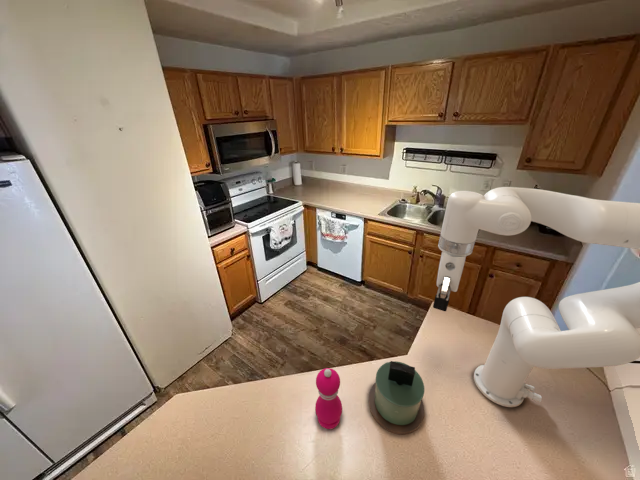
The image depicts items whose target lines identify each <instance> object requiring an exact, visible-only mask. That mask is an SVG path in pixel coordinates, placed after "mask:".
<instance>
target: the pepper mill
mask: <svg viewBox="0 0 640 480" xmlns="http://www.w3.org/2000/svg"><path fill="white" fill-rule="evenodd" d="M315 386H316V389H317V391H318V394H319V395H318V396H317V399H316V401H315V406H314V409H315V414H316V415H315V416H316V417H317V421H318V424H319V425H320V426H321V427H322V428H324V429H326V430H333V429H334V428H336V427H337V426H338V425H339V424H340V421H341V416H342V413H343V403H342V401H341V398H340V397H339V395H338V394H339V390H340V386H341V377H340V375H339V373H338V372H337V371H336V370H335V369H333V368H330V367H325V368H323V369H321V370H320V371H319V372H318V373H317V375H316V378H315Z"/></svg>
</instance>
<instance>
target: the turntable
mask: <svg viewBox="0 0 640 480" xmlns="http://www.w3.org/2000/svg"><path fill="white" fill-rule="evenodd" d="M375 386H376V381H375V382H374V383H373V384H372V385H371V387H370V390H369V392H368V393H369V394H368V407H369V410H370V413H371V415H372V417H373V418H374V420H375V421H376V423H377V424H378V425H379V426H380V427H382V428H383V429H384V430H386V431H388V432H390V433H392V434H395V435H409V434H412V433H414V432H415V431H417V430H418V429H419V428H420V426H421V425H422V423H423V421H424V417H425V416H424V415H425V406H424V401H423V399H422V400H421V403H420V407H419V411H418V414H417V417H416V418H415V420H414V421H412V422H411V423H409V424H406V425H396V424H393V423H391V422H389V421H387V420H386V419H385V418H383V417H382V415H381V414H380V413H379V412H378V410H377V408H376V405H375V401H374V395H375Z"/></svg>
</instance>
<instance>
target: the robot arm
mask: <svg viewBox="0 0 640 480" xmlns="http://www.w3.org/2000/svg"><path fill="white" fill-rule="evenodd" d="M531 222H533V223H537V224H540V225H543V226H546V227H548V228H551V229H552V230H554V231H556V232H558V233H560V234H562V235H564V236H566V237H567V238H570V239H573V240H575V241H578V242H581V243H584V244H592V245H601V246H609V247H619V248H626V249H631V250H632V249H633V250H640V202H628V201H617V200H605V199H595V198H590V197H585V196H581V195H573V194H568V193H563V192H557V191H552V190H546V189H539V188H531V187H518V186H517V187H516V186H499V187H495V188H492V189H490V190H489V191H487V192H486V193H485V194H484V195H483V194H482V193H480V192H477V191H471V190H456V191H454V192H452V193H450V194H449V196H448V198H447V201H446V207H445V212H444V215H443V220H442V225H441V230H440V233H439V239H438V244H437V247H438V249H439V250H440V251H441V255H440V259H439V264H438V270H437V277H436V286H437V288H438V289H437V293H436V294H435V296H434V301H433V305H432V308H433V309H436V310H439V311H442V312H447V310H448V307H449V302H450V294H451V292H454V293H456V292H458V289H459V285H460V281H461V277H462V274H463V271H464V267H465V263H466V257H467V256H470V255H472V254H473V250H474V247H475V244H476V241H477V237H478V234H479V230H481V231H485V232H487V233H491V234H495V235H500V236H515V235H519V234H522V233H523V232H525V231H526V230H527V229H528V228H529V227H530V225H531ZM558 311H559V314H560V316H561V318H562V320H563V323H564V324H565V325H566V327H567V330H566V329H565V330H561V328H560V325H559V324H558V322H557V320H556V318H555V316H554V314H553V313H552V311H551V310H550V308H549V307H548V306H547V305H546V304H545V303H544V302H542V301H541V300H539V299H537V298H535V297H531V296H519V297H515V298H513V299H512V300H510V301H509V302H508V303H507V304H506V305H505V307H504V309H503V312H502V316H501V318H500V319H501V320H500V325H499V328H498V331H497V334H496V336H495V339H494V341H493V344H492V346H491V348H490V351H489V352H488V355H487V358H486V360H485V363H484V364H480V365H478V367H476V368H475V370H474V371H473V381H474V384H475V385H476V387H477V389H478V390H479V391H480V393H481V394H482V395H483V396H484V397H486V398H487V400H490V401H491V402H493V403H495V404H497V405H499V406H502V407H505V408H516V407H518V406H520V405H521V404H522V403H523V402H524V400H525V399H527V398H528V399H531V400H532V401H534V402H537V403H539V404H540V403H542V399H543V397H542V395H541V394H538V393H536V392H535V390H536V388H535V386H534V385H531V384H529V383H528V384H527V383H526V381H527V379H528V378H529V375H530V374H531V372H532V370H533V368H538V369H548V370H561V369H562V370H563V369H586V368H587V369H588V368H606V367H608V368H609V367H618V366H623V365H627V364H629V363H632V362H635V361H636V360H638V359H639V358H640V332H639V331H638V329H640V281H638V282H635V283H632V284H627V285H623V286H617V287H611V288H606V289H599V290H593V291H592V290H591V291H587V292H580V293H576V294H571V295H568V296H565V297H563V298H562V299H560V301H559V302H558Z"/></svg>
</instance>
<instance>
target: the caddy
mask: <svg viewBox="0 0 640 480" xmlns="http://www.w3.org/2000/svg"><path fill="white" fill-rule="evenodd" d="M375 382H376V386H375V395H374V401H375V405H376V408H377V410H378V412H379V413H380V414H381V415H382V417H383V418H385V419H386V420H387V421H389V422H391V423H393V424H396V425H406V424H409V423H411V422H412V421H414V420H415V418H416V417H417V414H418V411H419V407H420V403H421V400H422V401H423V398H424V397H425V396H424V395H425V383H424V381H423V378H422V377H421V375H420V373H419V372H418V371H417V370H416V367H415V366H411V365H409V364H407V363H405V362H401V361H396V360H395V361H393V360H390V361H387V362H384V363H383V364H382V365H381V366H380V367H378V369H377V371H376V374H375Z"/></svg>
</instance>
